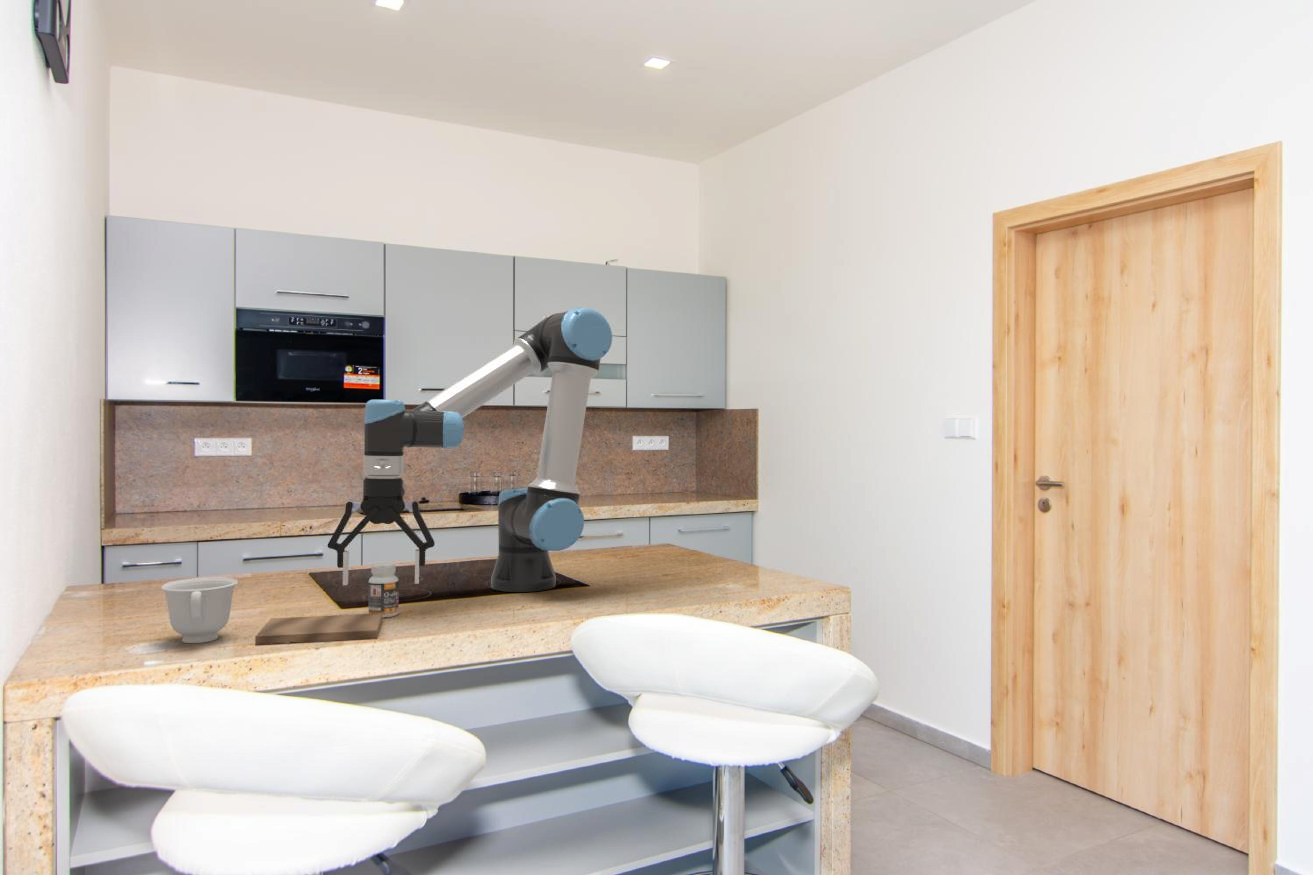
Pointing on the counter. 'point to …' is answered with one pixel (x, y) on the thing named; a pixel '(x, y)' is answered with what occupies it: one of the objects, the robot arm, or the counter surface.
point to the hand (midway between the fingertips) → (381, 583)
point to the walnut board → (320, 628)
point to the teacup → (199, 606)
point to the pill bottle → (384, 590)
